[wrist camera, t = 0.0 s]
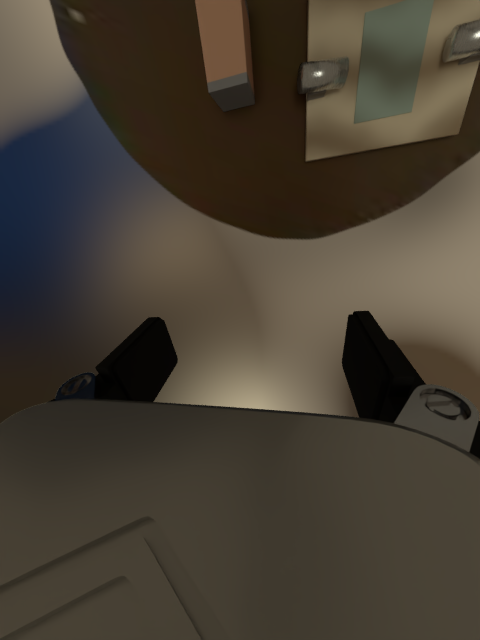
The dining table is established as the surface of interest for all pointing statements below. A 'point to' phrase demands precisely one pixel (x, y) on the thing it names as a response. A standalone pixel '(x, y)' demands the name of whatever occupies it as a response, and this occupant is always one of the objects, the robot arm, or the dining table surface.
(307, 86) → the shaft angled
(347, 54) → the base
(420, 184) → the dining table surface
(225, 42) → the orange and grey block
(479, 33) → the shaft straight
